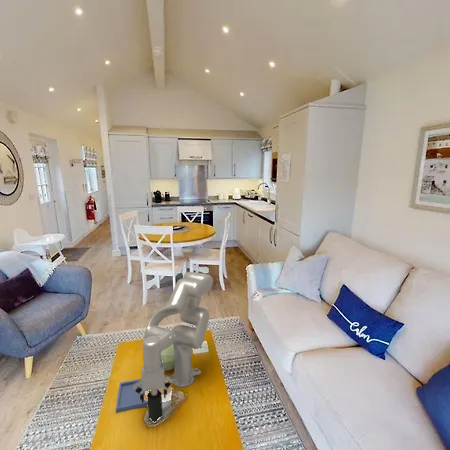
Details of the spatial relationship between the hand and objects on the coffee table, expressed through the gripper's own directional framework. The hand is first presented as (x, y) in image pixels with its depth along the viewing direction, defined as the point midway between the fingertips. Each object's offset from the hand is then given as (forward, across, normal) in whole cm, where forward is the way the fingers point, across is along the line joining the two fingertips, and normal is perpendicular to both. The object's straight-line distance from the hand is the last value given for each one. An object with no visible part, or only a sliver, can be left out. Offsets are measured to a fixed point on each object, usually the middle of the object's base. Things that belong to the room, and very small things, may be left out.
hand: (153, 397), depth 119 cm
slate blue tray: (+11, +10, -16) cm, 21 cm away
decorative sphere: (+11, -7, -32) cm, 34 cm away
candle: (+11, 0, -1) cm, 11 cm away
